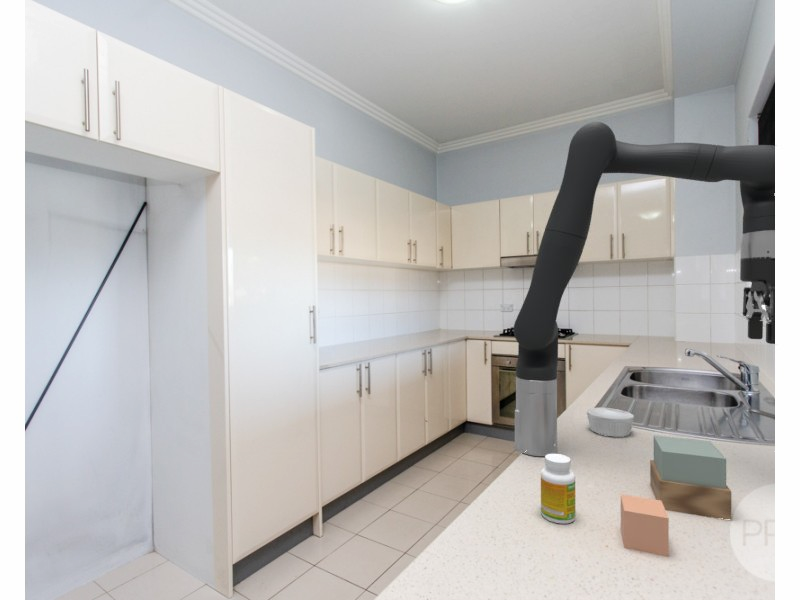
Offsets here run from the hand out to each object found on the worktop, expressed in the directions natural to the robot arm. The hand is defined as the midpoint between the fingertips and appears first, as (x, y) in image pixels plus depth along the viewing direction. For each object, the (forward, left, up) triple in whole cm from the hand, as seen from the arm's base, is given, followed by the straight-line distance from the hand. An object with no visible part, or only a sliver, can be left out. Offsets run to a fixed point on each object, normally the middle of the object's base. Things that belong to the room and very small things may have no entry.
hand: (764, 341), depth 81 cm
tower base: (-15, -13, -28) cm, 34 cm away
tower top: (-15, -13, -23) cm, 30 cm away
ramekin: (-25, +24, -28) cm, 44 cm away
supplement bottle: (-36, -27, -28) cm, 53 cm away
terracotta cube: (-24, -30, -28) cm, 47 cm away
